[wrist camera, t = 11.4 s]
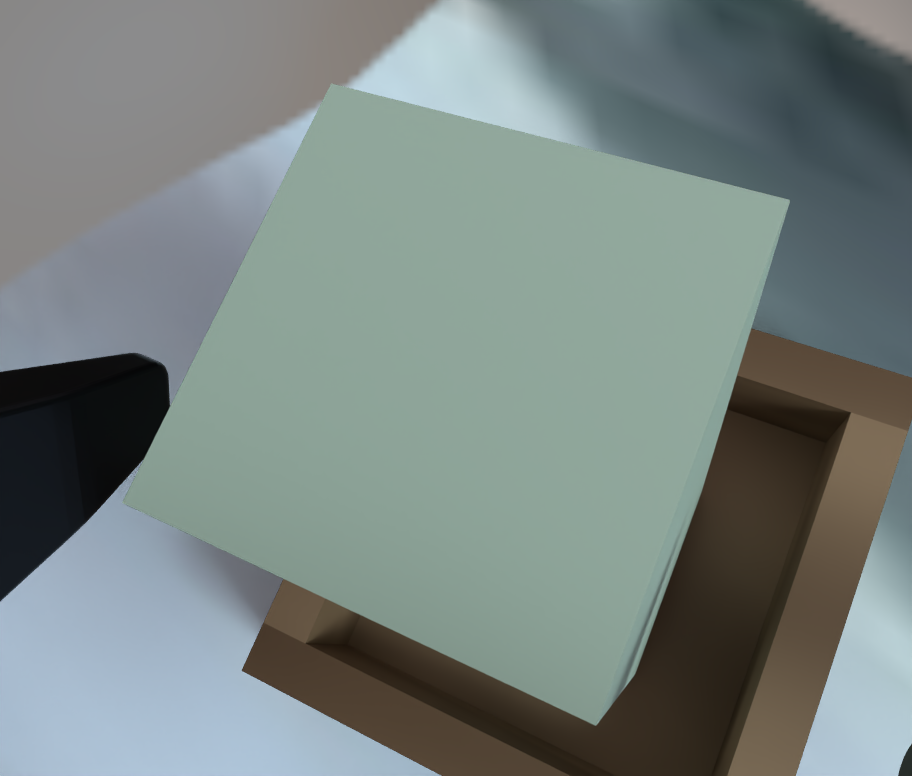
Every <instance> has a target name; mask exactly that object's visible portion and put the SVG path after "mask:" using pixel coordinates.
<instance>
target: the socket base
mask: <svg viewBox="0 0 912 776" xmlns="http://www.w3.org/2000/svg"><path fill="white" fill-rule="evenodd" d="M911 420H912V378H911V377H908V376H904V375H901V374H898V373H895V372H891V371H888V370H885V369H882V368H878V367H875V366H872V365H869V364H865V363H862V362H859V361H856V360H852V359H849V358H846V357H843V356H839V355H836V354H833V353H830V352H826V351H823V350H820V349H816V348H813V347H810V346H807V345H803V344H800V343H797V342H794V341H790V340H787V339H784V338H781V337H777V336H774V335H771V334H768V333H764V332H761V331H758V330H755V329H751V331H750V334H749V337H748V341H747V344H746V347H745V350H744V354H743V357H742V360H741V364H740V367H739V370H738V374H737V377H736V380H735V383H734V387H733V390H732V393H731V397H730V400H729V403H728V407H727V410H726V413H725V416H724V420H723V423H722V426H721V430H720V433H719V436H718V440H717V443H716V446H715V449H714V453H713V456H712V459H711V463H710V466H709V469H708V472H707V476H706V479H705V482H704V486H703V489H702V492H701V496H700V498H699V501H698V504H697V506H696V509H695V512H694V515H693V517H692V520H691V523H690V526H689V528H688V531H687V534H686V537H685V539H684V542H683V545H682V548H681V550H680V553H679V556H678V559H677V561H676V564H675V567H674V570H673V572H672V575H671V578H670V581H669V583H668V586H667V589H666V592H665V594H664V597H663V600H662V602H661V605H660V608H659V611H658V613H657V616H656V619H655V622H654V624H653V627H652V630H651V633H650V635H649V638H648V641H647V644H646V646H645V649H644V652H643V655H642V657H641V660H640V663H639V666H638V668H637V671H636V674H635V675H634V677H633V678H632V679H631V680H630V682H629V683H628V684H627V686H626V687H625V688H624V690H623V691H622V692H621V694H620V695H619V696H618V698H617V699H616V700H615V702H614V703H613V704H612V705H611V707H610V708H609V709H608V711H607V712H606V713H605V715H604V716H603V717H602V719H601V720H600V721H599V723H598V724H597V725H596V726H595V725H593V724H591V723H589V722H587V721H585V720H583V719H580V718H578V717H576V716H574V715H572V714H570V713H568V712H566V711H563V710H561V709H559V708H557V707H555V706H553V705H551V704H549V703H546V702H544V701H542V700H540V699H538V698H536V697H534V696H532V695H529V694H527V693H525V692H523V691H521V690H519V689H517V688H515V687H512V686H510V685H508V684H506V683H504V682H502V681H500V680H498V679H495V678H493V677H491V676H489V675H487V674H485V673H483V672H481V671H478V670H476V669H474V668H472V667H470V666H468V665H466V664H464V663H461V662H459V661H457V660H455V659H453V658H451V657H449V656H447V655H444V654H442V653H440V652H438V651H436V650H434V649H432V648H430V647H427V646H425V645H423V644H421V643H419V642H417V641H415V640H413V639H410V638H408V637H406V636H404V635H402V634H400V633H398V632H396V631H393V630H391V629H389V628H387V627H385V626H383V625H381V624H379V623H376V622H374V621H372V620H370V619H368V618H366V617H364V616H362V615H359V614H357V613H355V612H353V611H351V610H349V609H347V608H345V607H342V606H340V605H338V604H336V603H334V602H332V601H330V600H328V599H325V598H323V597H321V596H319V595H317V594H315V593H313V592H311V591H308V590H306V589H304V588H302V587H300V586H298V585H296V584H294V583H291V582H289V581H287V580H285V579H283V581H282V583H281V586H280V588H279V590H278V592H277V594H276V596H275V599H274V601H273V603H272V605H271V607H270V610H269V612H268V614H267V616H266V618H265V621H264V623H263V625H262V627H261V629H260V631H259V634H258V636H257V638H256V640H255V642H254V645H253V647H252V649H251V651H250V653H249V656H248V658H247V660H246V662H245V664H244V666H243V669H242V671H243V672H245V673H247V674H249V675H251V676H253V677H255V678H257V679H259V680H260V681H262V682H264V683H266V684H268V685H270V686H272V687H274V688H276V689H278V690H279V691H281V692H283V693H285V694H287V695H289V696H291V697H293V698H295V699H297V700H299V701H300V702H302V703H304V704H306V705H308V706H310V707H312V708H314V709H316V710H318V711H319V712H321V713H323V714H325V715H327V716H329V717H331V718H333V719H335V720H337V721H339V722H340V723H342V724H344V725H346V726H348V727H350V728H352V729H354V730H356V731H358V732H359V733H361V734H363V735H365V736H367V737H369V738H371V739H373V740H375V741H377V742H379V743H380V744H382V745H384V746H386V747H388V748H390V749H392V750H394V751H396V752H398V753H400V754H401V755H403V756H405V757H407V758H409V759H411V760H413V761H415V762H417V763H419V764H420V765H422V766H424V767H426V768H428V769H430V770H432V771H434V772H436V773H438V774H440V775H441V776H796V773H797V770H798V767H799V764H800V761H801V758H802V755H803V751H804V748H805V745H806V742H807V739H808V736H809V733H810V730H811V727H812V724H813V721H814V718H815V715H816V712H817V709H818V705H819V702H820V699H821V696H822V693H823V690H824V687H825V684H826V681H827V678H828V675H829V672H830V669H831V666H832V663H833V659H834V656H835V653H836V650H837V647H838V644H839V641H840V638H841V635H842V632H843V629H844V626H845V623H846V620H847V617H848V613H849V610H850V607H851V604H852V601H853V598H854V595H855V592H856V589H857V586H858V583H859V580H860V577H861V574H862V571H863V567H864V564H865V561H866V558H867V555H868V552H869V549H870V546H871V543H872V540H873V537H874V534H875V531H876V528H877V525H878V521H879V518H880V515H881V512H882V509H883V506H884V503H885V500H886V497H887V494H888V491H889V488H890V485H891V482H892V479H893V475H894V472H895V469H896V466H897V463H898V460H899V457H900V454H901V451H902V448H903V445H904V442H905V439H906V436H907V433H908V430H909V426H910V423H911Z"/></svg>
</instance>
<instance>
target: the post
mask: <svg viewBox="0 0 912 776" xmlns="http://www.w3.org/2000/svg"><path fill="white" fill-rule="evenodd" d="M789 202H790V200H787V199H783V198H779V197H775V196H772V195H768V194H764V193H760V192H756V191H752V190H748V189H744V188H740V187H736V186H732V185H728V184H724V183H720V182H716V181H712V180H709V179H705V178H701V177H697V176H693V175H689V174H685V173H681V172H677V171H673V170H669V169H665V168H661V167H657V166H653V165H650V164H646V163H642V162H638V161H634V160H630V159H626V158H622V157H618V156H614V155H610V154H606V153H602V152H598V151H594V150H590V149H587V148H583V147H579V146H575V145H571V144H567V143H563V142H559V141H555V140H551V139H547V138H543V137H539V136H535V135H531V134H528V133H524V132H520V131H516V130H512V129H508V128H504V127H500V126H496V125H492V124H488V123H484V122H480V121H476V120H472V119H468V118H465V117H461V116H457V115H453V114H449V113H445V112H441V111H437V110H433V109H429V108H425V107H421V106H417V105H413V104H409V103H406V102H402V101H398V100H394V99H390V98H386V97H382V96H378V95H374V94H370V93H366V92H362V91H358V90H354V89H350V88H347V87H343V86H339V85H335V84H331V85H330V88H329V89H328V91H327V93H326V95H325V97H324V99H323V101H322V103H321V105H320V107H319V109H318V111H317V113H316V115H315V117H314V119H313V121H312V123H311V125H310V127H309V129H308V131H307V133H306V135H305V137H304V139H303V141H302V143H301V145H300V147H299V149H298V151H297V153H296V155H295V157H294V159H293V161H292V163H291V165H290V167H289V169H288V171H287V173H286V175H285V177H284V179H283V181H282V183H281V185H280V187H279V189H278V191H277V193H276V195H275V198H274V200H273V202H272V204H271V206H270V208H269V210H268V212H267V214H266V216H265V218H264V220H263V222H262V224H261V226H260V228H259V230H258V232H257V234H256V236H255V238H254V240H253V242H252V244H251V246H250V248H249V250H248V252H247V254H246V256H245V258H244V260H243V262H242V264H241V266H240V268H239V270H238V272H237V274H236V276H235V278H234V280H233V282H232V284H231V286H230V288H229V290H228V292H227V294H226V296H225V298H224V300H223V302H222V304H221V306H220V308H219V310H218V312H217V314H216V316H215V318H214V320H213V322H212V324H211V326H210V328H209V330H208V332H207V334H206V336H205V338H204V340H203V342H202V344H201V346H200V348H199V350H198V352H197V354H196V356H195V358H194V360H193V362H192V364H191V366H190V368H189V370H188V372H187V374H186V376H185V378H184V380H183V382H182V384H181V386H180V388H179V390H178V392H177V394H176V396H175V398H174V400H173V402H172V404H171V406H170V408H169V410H168V412H167V414H166V416H165V418H164V420H163V422H162V424H161V426H160V428H159V430H158V432H157V434H156V436H155V438H154V440H153V442H152V444H151V446H150V448H149V450H148V452H147V454H146V456H145V458H144V460H143V462H142V464H141V466H140V468H139V470H138V472H137V474H136V476H135V478H134V480H133V482H132V484H131V486H130V488H129V490H128V492H127V494H126V496H125V498H124V500H123V502H122V503H124V504H126V505H128V506H130V507H132V508H134V509H136V510H138V511H141V512H143V513H145V514H147V515H149V516H151V517H153V518H155V519H158V520H160V521H162V522H164V523H166V524H168V525H170V526H172V527H175V528H177V529H179V530H181V531H183V532H185V533H187V534H189V535H192V536H194V537H196V538H198V539H200V540H202V541H204V542H206V543H209V544H211V545H213V546H215V547H217V548H219V549H221V550H223V551H226V552H228V553H230V554H232V555H234V556H236V557H238V558H240V559H243V560H245V561H247V562H249V563H251V564H253V565H255V566H257V567H260V568H262V569H264V570H266V571H268V572H270V573H272V574H274V575H277V576H279V577H281V578H283V579H285V580H287V581H289V582H291V583H294V584H296V585H298V586H300V587H302V588H304V589H306V590H308V591H311V592H313V593H315V594H317V595H319V596H321V597H323V598H325V599H328V600H330V601H332V602H334V603H336V604H338V605H340V606H342V607H345V608H347V609H349V610H351V611H353V612H355V613H357V614H359V615H362V616H364V617H366V618H368V619H370V620H372V621H374V622H376V623H379V624H381V625H383V626H385V627H387V628H389V629H391V630H393V631H396V632H398V633H400V634H402V635H404V636H406V637H408V638H410V639H413V640H415V641H417V642H419V643H421V644H423V645H425V646H427V647H430V648H432V649H434V650H436V651H438V652H440V653H442V654H444V655H447V656H449V657H451V658H453V659H455V660H457V661H459V662H461V663H464V664H466V665H468V666H470V667H472V668H474V669H476V670H478V671H481V672H483V673H485V674H487V675H489V676H491V677H493V678H495V679H498V680H500V681H502V682H504V683H506V684H508V685H510V686H512V687H515V688H517V689H519V690H521V691H523V692H525V693H527V694H529V695H532V696H534V697H536V698H538V699H540V700H542V701H544V702H546V703H549V704H551V705H553V706H555V707H557V708H559V709H561V710H563V711H566V712H568V713H570V714H572V715H574V716H576V717H578V718H580V719H583V720H585V721H587V722H589V723H591V724H593V725H595V726H596V725H597V724H598V723H599V721H600V720H601V719H602V717H603V716H604V715H605V713H606V712H607V711H608V709H609V708H610V707H611V705H612V704H613V703H614V702H615V700H616V699H617V698H618V696H619V695H620V694H621V692H622V691H623V690H624V688H625V687H626V686H627V684H628V683H629V682H630V680H631V679H632V678H633V677H634V675H635V674H636V671H637V668H638V666H639V663H640V660H641V657H642V655H643V652H644V649H645V646H646V644H647V641H648V638H649V635H650V633H651V630H652V627H653V624H654V622H655V619H656V616H657V613H658V611H659V608H660V605H661V602H662V600H663V597H664V594H665V592H666V589H667V586H668V583H669V581H670V578H671V575H672V572H673V570H674V567H675V564H676V561H677V559H678V556H679V553H680V550H681V548H682V545H683V542H684V539H685V537H686V534H687V531H688V528H689V526H690V523H691V520H692V517H693V515H694V512H695V509H696V506H697V504H698V501H699V498H700V496H701V492H702V489H703V486H704V482H705V479H706V476H707V472H708V469H709V466H710V463H711V459H712V456H713V453H714V449H715V446H716V443H717V440H718V436H719V433H720V430H721V426H722V423H723V420H724V416H725V413H726V410H727V407H728V403H729V400H730V397H731V393H732V390H733V387H734V383H735V380H736V377H737V374H738V370H739V367H740V364H741V360H742V357H743V354H744V350H745V347H746V344H747V341H748V337H749V334H750V331H751V327H752V324H753V321H754V317H755V314H756V311H757V308H758V304H759V301H760V298H761V294H762V291H763V288H764V285H765V281H766V278H767V275H768V271H769V268H770V265H771V261H772V258H773V255H774V252H775V248H776V245H777V242H778V238H779V235H780V232H781V228H782V225H783V222H784V219H785V215H786V212H787V209H788V205H789Z"/></svg>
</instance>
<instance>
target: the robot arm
mask: <svg viewBox="0 0 912 776" xmlns="http://www.w3.org/2000/svg"><path fill="white" fill-rule="evenodd" d="M169 408H170V399H169V379H168V372H167V370H166V368H165V366H164V365H163V364H162V363H160V362H158V361H156V360H154V359H151V358H149V357H147V356H144V355H142V354H138V353H127V354H121V355H114V356H107V357H100V358H93V359H86V360H79V361H72V362H66V363H59V364H52V365H45V366H38V367H31V368H24V369H17V370H11V371H4V372H0V601H1V600H2V599H3V598H5V597H6V596H7V595H8V594H9V593H10V592H11V591H12V590H13V589H14V588H16V587H17V586H18V585H19V584H20V583H21V582H22V581H23V580H24V579H25V578H26V577H28V576H29V575H30V574H31V573H32V572H33V571H34V570H35V569H36V568H37V567H39V566H40V565H41V564H42V563H43V562H44V561H45V560H46V559H47V558H48V557H49V556H51V555H52V554H53V553H54V552H55V551H56V550H57V549H58V548H59V547H60V546H62V545H63V544H64V543H65V542H66V541H67V540H68V539H69V538H70V537H71V536H72V535H73V534H74V533H76V532H77V531H78V530H79V529H80V528H81V527H82V526H83V525H84V524H85V523H86V522H87V521H88V520H89V519H90V518H91V517H92V516H93V514H94V513H95V512H96V511H97V510H98V509H99V508H100V507H101V506H102V505H103V504H104V503H105V501H106V500H107V499H108V498H109V497H110V496H111V495H112V494H113V493H114V491H115V490H116V489H117V488H118V487H119V486H120V485H121V484H122V483H123V481H124V480H125V479H126V478H127V477H128V476H129V475H130V474H131V473H132V471H133V470H134V469H135V468H136V467H137V466H138V465H139V464H140V463H141V461H142V460H143V459H144V458H145V456H146V454H147V452H148V450H149V448H150V446H151V444H152V442H153V440H154V438H155V436H156V434H157V432H158V430H159V428H160V426H161V424H162V422H163V420H164V418H165V416H166V414H167V412H168V410H169ZM898 776H912V744H911V746H910V747H909V749H908V750H907V752H906V754H905V756H904V759H903V761H902V764H901V767H900V770H899V775H898Z"/></svg>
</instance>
